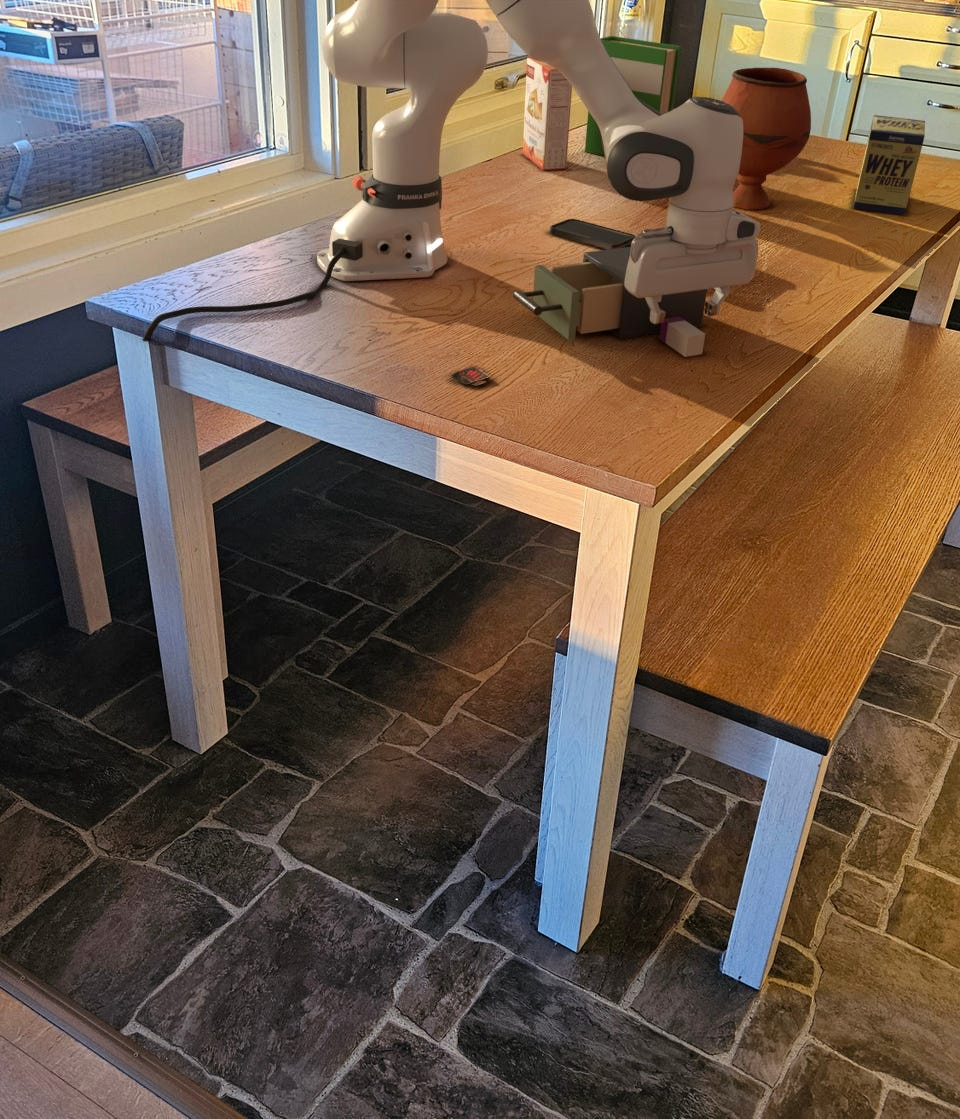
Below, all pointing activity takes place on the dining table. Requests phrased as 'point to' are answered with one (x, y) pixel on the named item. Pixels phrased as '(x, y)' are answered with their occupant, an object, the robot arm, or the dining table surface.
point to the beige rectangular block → (682, 336)
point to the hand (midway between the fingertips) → (684, 318)
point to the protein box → (889, 164)
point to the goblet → (767, 126)
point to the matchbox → (470, 376)
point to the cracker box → (546, 116)
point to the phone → (592, 234)
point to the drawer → (575, 298)
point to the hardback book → (640, 77)
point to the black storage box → (637, 309)
